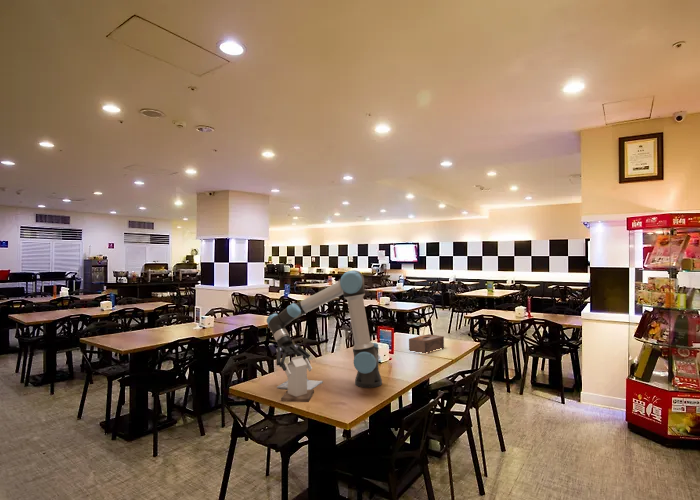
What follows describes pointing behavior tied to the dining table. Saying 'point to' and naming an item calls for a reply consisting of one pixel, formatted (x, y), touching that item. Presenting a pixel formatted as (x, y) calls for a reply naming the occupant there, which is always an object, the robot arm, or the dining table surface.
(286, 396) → the walnut board
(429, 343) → the tissue box cover
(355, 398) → the dining table surface
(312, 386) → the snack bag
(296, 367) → the milk carton
